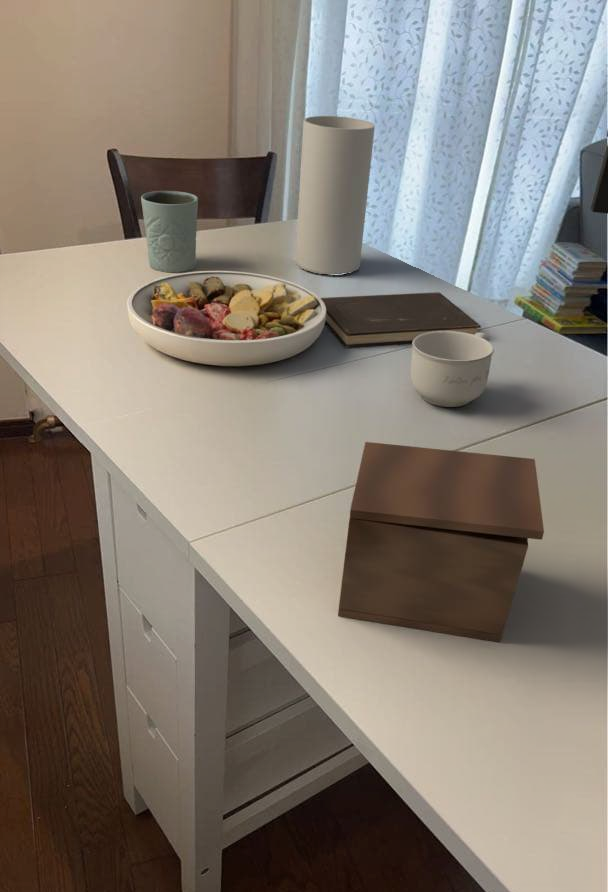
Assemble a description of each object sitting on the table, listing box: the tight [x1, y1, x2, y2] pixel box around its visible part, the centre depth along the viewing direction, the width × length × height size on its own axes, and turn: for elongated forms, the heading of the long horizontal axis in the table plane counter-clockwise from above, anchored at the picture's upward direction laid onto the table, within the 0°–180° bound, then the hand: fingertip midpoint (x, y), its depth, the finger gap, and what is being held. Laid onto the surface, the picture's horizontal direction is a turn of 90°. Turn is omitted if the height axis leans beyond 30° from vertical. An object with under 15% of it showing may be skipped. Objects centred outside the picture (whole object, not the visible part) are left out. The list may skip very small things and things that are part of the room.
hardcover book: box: [320, 291, 482, 349], centre depth 131 cm, size 16×23×2 cm
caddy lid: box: [349, 441, 545, 541], centre depth 70 cm, size 16×12×1 cm
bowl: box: [126, 270, 326, 367], centre depth 122 cm, size 30×30×8 cm
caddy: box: [337, 517, 529, 643], centre depth 74 cm, size 15×12×11 cm
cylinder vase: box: [295, 115, 376, 275], centre depth 147 cm, size 12×12×25 cm
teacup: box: [410, 331, 495, 408], centre depth 110 cm, size 14×11×8 cm
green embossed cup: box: [140, 190, 199, 273], centre depth 146 cm, size 10×10×12 cm
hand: (605, 211), depth 77 cm, fingers closed
